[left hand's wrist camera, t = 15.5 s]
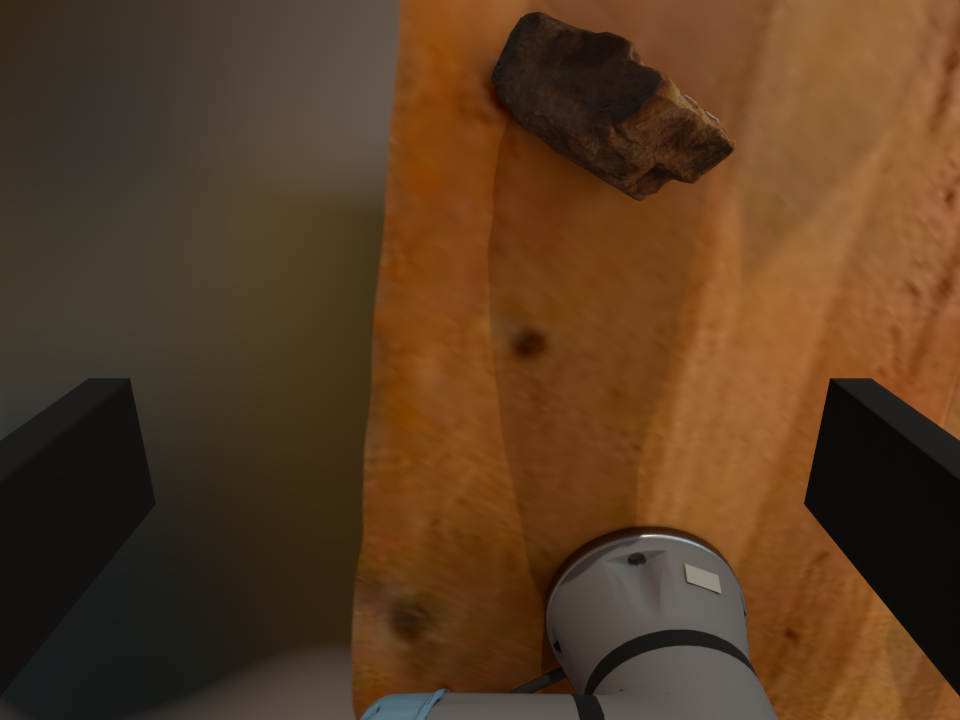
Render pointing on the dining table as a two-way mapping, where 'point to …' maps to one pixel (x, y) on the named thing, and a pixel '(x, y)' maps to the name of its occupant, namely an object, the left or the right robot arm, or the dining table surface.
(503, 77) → the decorative rock
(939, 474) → the left robot arm
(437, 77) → the dining table surface
